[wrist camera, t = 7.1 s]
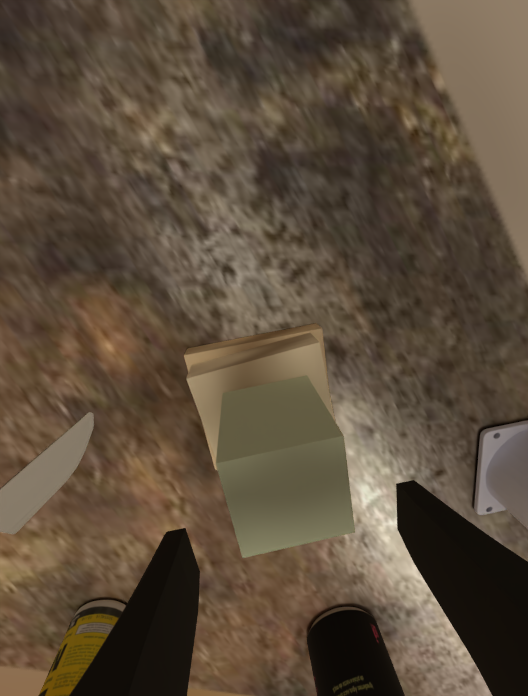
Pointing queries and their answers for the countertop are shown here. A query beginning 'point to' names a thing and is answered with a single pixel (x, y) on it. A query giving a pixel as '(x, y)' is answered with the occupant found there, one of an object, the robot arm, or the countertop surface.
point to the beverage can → (350, 656)
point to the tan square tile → (255, 375)
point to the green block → (282, 467)
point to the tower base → (245, 343)
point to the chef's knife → (43, 476)
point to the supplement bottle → (81, 645)
